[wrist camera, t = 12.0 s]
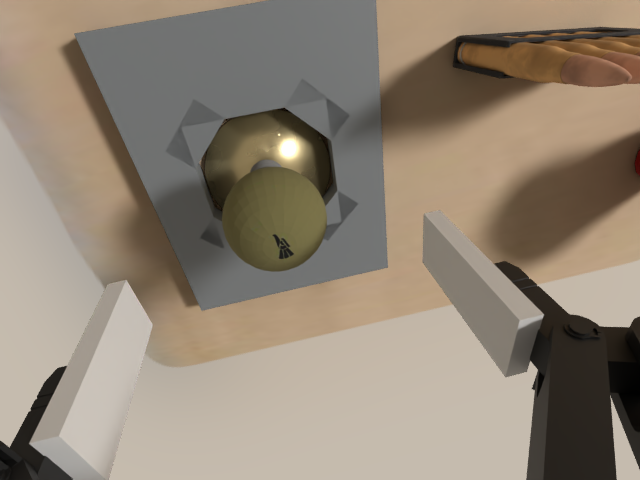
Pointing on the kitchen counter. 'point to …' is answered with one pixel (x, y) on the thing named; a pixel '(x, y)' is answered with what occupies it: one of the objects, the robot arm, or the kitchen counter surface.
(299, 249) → the light bulb
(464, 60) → the ammunition clip
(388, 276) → the kitchen counter surface
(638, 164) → the plastic cup
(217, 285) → the socket plate
